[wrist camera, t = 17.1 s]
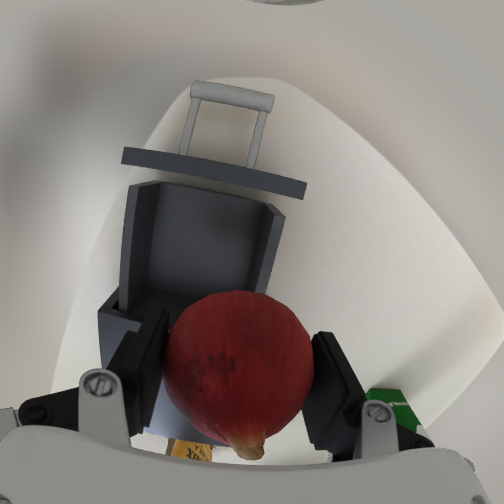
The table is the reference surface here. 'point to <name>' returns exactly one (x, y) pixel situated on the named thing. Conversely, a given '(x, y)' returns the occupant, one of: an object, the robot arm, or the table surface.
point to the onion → (238, 368)
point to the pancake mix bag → (189, 450)
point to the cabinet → (165, 412)
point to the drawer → (200, 220)
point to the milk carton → (398, 408)
